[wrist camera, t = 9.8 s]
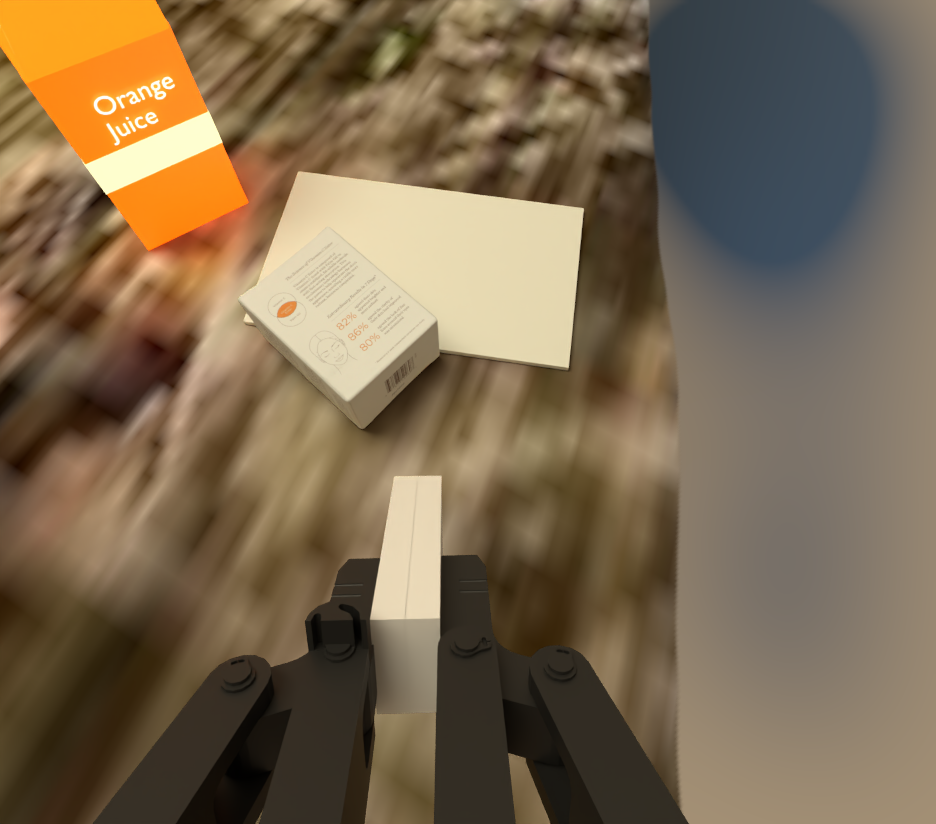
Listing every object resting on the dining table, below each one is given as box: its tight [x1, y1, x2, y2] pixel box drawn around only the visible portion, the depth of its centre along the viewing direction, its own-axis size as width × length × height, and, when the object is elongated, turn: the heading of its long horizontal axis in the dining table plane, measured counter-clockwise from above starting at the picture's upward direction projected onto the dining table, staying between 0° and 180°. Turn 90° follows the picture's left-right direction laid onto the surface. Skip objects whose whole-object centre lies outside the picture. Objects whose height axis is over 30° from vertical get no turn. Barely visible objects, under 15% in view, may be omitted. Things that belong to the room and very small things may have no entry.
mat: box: [244, 171, 584, 370], centre depth 45 cm, size 24×15×1 cm, turn 81°
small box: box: [238, 226, 440, 429], centre depth 40 cm, size 8×6×10 cm
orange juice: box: [0, 0, 248, 251], centre depth 39 cm, size 8×9×20 cm
